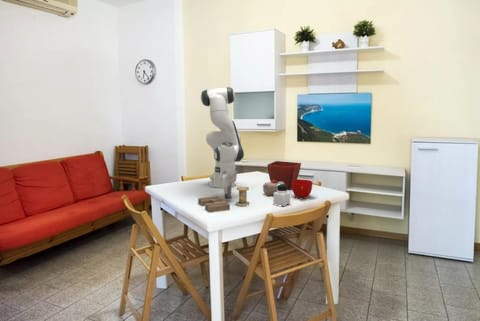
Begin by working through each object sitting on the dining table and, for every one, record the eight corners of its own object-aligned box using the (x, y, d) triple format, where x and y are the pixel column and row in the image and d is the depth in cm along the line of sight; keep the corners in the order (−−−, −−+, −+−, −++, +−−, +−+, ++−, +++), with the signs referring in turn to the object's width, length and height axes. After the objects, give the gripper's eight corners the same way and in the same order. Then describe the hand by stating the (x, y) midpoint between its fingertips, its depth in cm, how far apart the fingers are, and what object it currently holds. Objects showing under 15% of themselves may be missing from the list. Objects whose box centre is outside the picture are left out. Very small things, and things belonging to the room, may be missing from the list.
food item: (265, 196, 232) (265, 181, 231) (262, 193, 240) (262, 179, 238) (286, 195, 235) (286, 180, 233) (282, 192, 243) (282, 178, 241)
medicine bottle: (290, 204, 215) (290, 184, 213) (283, 206, 210) (283, 186, 208) (280, 202, 220) (280, 182, 218) (273, 204, 215) (273, 184, 213)
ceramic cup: (290, 201, 222) (291, 184, 221) (291, 194, 239) (291, 179, 237) (312, 201, 220) (313, 185, 219) (311, 195, 237) (312, 179, 235)
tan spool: (233, 203, 217) (233, 186, 215) (246, 202, 220) (246, 185, 218) (239, 206, 209) (239, 189, 208) (251, 205, 213) (251, 188, 211)
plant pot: (300, 185, 263) (301, 162, 261) (293, 191, 246) (293, 166, 244) (275, 183, 271) (276, 160, 269) (266, 188, 254) (266, 164, 252)
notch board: (198, 203, 217) (198, 198, 217) (217, 200, 222) (217, 196, 222) (209, 212, 199) (209, 206, 199) (229, 209, 204) (229, 204, 204)
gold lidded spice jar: (223, 197, 223) (223, 180, 221) (230, 196, 224) (230, 179, 222) (225, 199, 219) (225, 181, 217) (232, 198, 220) (232, 181, 219)
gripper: (226, 173, 208) (226, 197, 210) (238, 166, 227) (238, 188, 229) (215, 172, 210) (216, 196, 212) (228, 166, 229) (229, 187, 231)
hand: (227, 192), depth 221 cm, fingers closed on gold lidded spice jar, 4 cm apart
